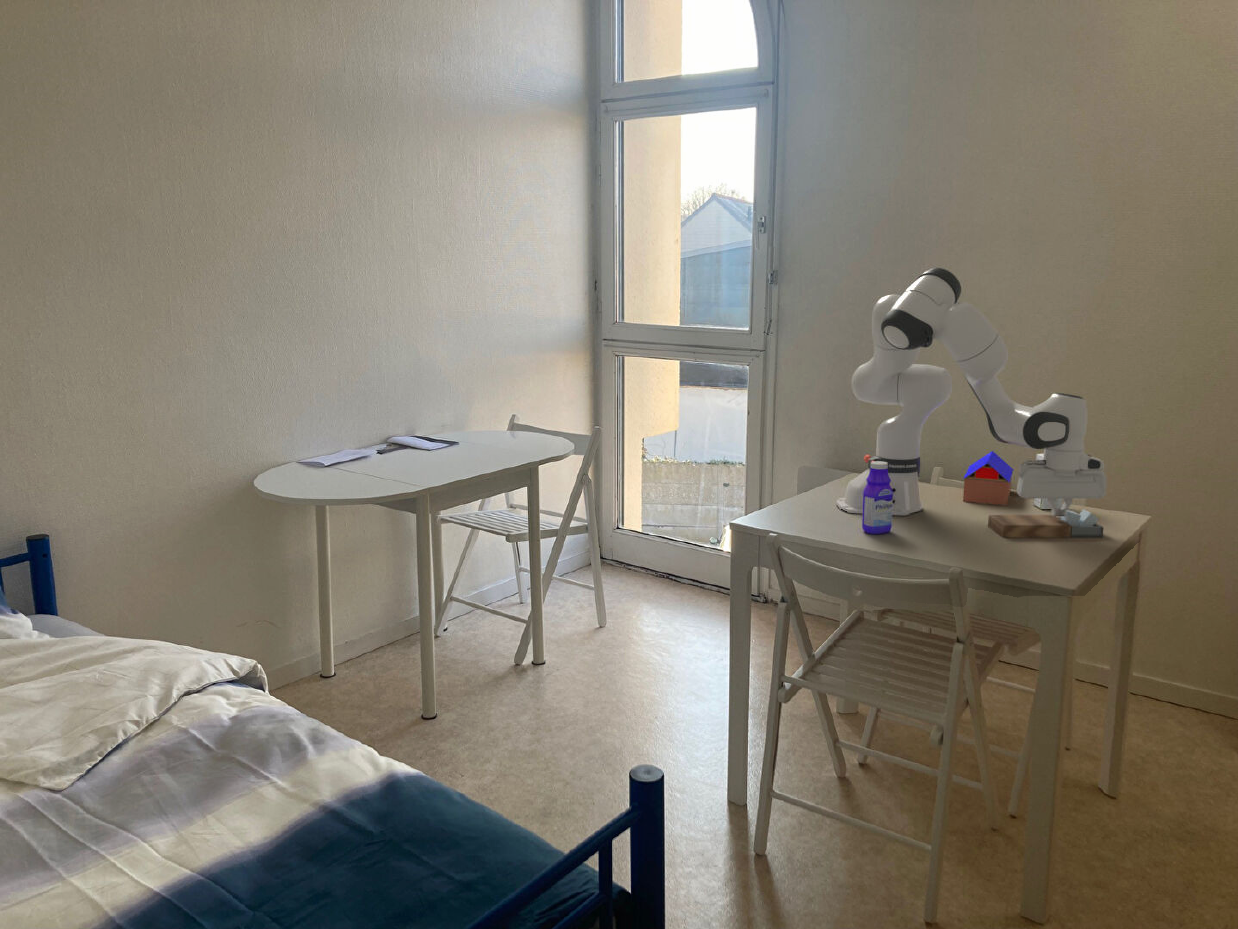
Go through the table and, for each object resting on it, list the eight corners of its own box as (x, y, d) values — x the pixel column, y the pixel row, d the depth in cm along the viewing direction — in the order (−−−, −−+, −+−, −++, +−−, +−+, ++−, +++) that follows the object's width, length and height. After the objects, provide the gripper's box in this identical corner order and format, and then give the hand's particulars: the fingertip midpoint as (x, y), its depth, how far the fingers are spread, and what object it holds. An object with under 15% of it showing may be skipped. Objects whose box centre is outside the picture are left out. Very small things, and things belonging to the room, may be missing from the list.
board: (1002, 537, 228) (1003, 525, 227) (987, 526, 238) (988, 515, 237) (1070, 537, 227) (1071, 525, 227) (1052, 526, 237) (1053, 515, 237)
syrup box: (1062, 510, 254) (1067, 457, 251) (1040, 510, 254) (1044, 457, 251) (1053, 505, 259) (1058, 453, 257) (1031, 505, 259) (1036, 453, 257)
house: (961, 502, 264) (964, 461, 262) (968, 487, 282) (970, 449, 280) (1007, 506, 259) (1011, 464, 257) (1011, 491, 277) (1014, 452, 275)
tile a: (1091, 513, 229) (1098, 519, 229) (1083, 509, 233) (1091, 515, 233) (1079, 525, 230) (1087, 531, 230) (1072, 521, 234) (1079, 527, 234)
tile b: (1076, 531, 230) (1066, 528, 230) (1068, 526, 234) (1058, 524, 234) (1081, 515, 229) (1071, 513, 229) (1073, 511, 233) (1063, 509, 233)
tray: (1071, 537, 228) (1071, 527, 227) (1053, 526, 237) (1054, 517, 236) (1102, 537, 227) (1103, 527, 227) (1084, 526, 237) (1085, 517, 236)
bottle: (873, 536, 229) (876, 465, 226) (857, 531, 234) (860, 461, 231) (895, 532, 232) (899, 463, 229) (879, 527, 237) (882, 459, 234)
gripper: (1024, 462, 226) (1020, 518, 228) (1111, 462, 225) (1106, 519, 228) (1014, 457, 232) (1010, 512, 235) (1099, 457, 231) (1094, 512, 234)
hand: (1058, 515), depth 231 cm, fingers closed
